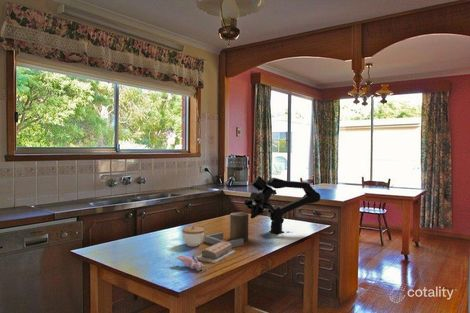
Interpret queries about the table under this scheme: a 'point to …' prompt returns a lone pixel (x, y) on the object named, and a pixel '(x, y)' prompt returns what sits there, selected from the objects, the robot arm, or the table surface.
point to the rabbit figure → (192, 262)
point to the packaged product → (216, 252)
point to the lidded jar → (193, 235)
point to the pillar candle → (239, 226)
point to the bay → (216, 238)
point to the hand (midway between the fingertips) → (251, 218)
